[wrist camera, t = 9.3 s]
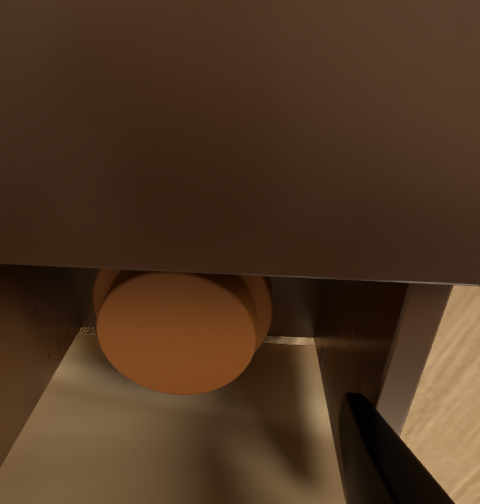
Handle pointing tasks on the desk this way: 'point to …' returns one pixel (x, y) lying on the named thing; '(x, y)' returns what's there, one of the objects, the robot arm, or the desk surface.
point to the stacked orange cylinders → (181, 326)
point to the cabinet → (243, 137)
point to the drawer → (200, 396)
